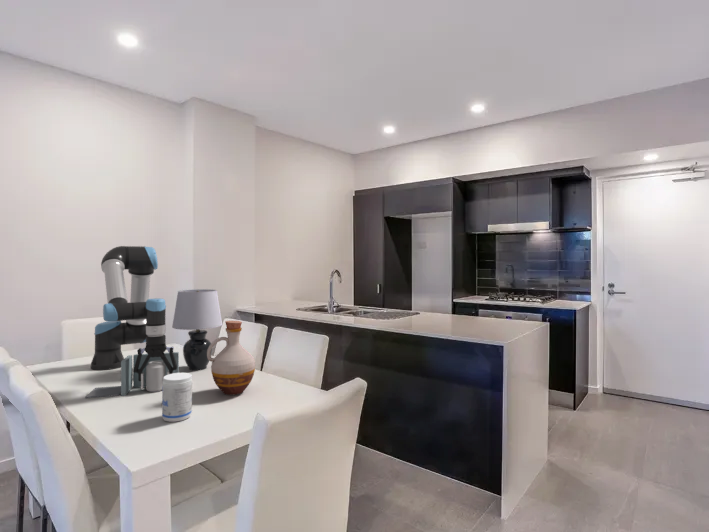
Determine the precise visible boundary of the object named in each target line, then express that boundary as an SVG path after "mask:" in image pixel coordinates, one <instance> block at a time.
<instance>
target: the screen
mask: <svg viewBox="0 0 709 532" xmlns="http://www.w3.org/2000/svg"><path fill="white" fill-rule="evenodd" d="M173 353H174V356H175V360H176V363H177V369H176V370H173V373H180V369H179V366H180V362H179V361H180V355H179V351H173ZM164 354H165V356H166V358H167V359H168V361H169V363H170V364H171V366H172V367H173V365H172V361H171V358H170V354H169V352H164ZM137 356H138V353H135V354H133V355H131V354H130V355H126V357H124V360H122V361H121V367H120V386H121V394H120V397H122V396H123V397H125V396H127V394H128V393H129V392H130V390H131V389H132V388H141V381H139V380H138V373H136V372H135V373H134V372H133V371H134V367H135V363H136V360H137ZM147 356H148V354H147V353H143V354H142V357H141V360H140V364H139V368H138V369H140V368H141V366H142V364H143V363H144V361H145V359H146V357H147ZM151 361H163V360H162V359H161V357H150V359H149V361H148V362H147V364H146V366H147V365H148V363H149V362H151ZM164 364H165V363H164ZM146 366H145V368H144V369H143V371H142V372H144V387H146ZM168 371H169V370H168V368H167V366H166V375H167V372H168Z"/></svg>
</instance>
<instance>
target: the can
mask: <svg viewBox="0 0 709 532" xmlns="http://www.w3.org/2000/svg"><path fill="white" fill-rule="evenodd" d="M164 376H166V365H165V364H164V362H163V361H151V362H149V363H148V365H147V366H146V386H145V390H146V391H147V392H149V393H157V392H161V391H162V387H163V377H164Z"/></svg>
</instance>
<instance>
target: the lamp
mask: <svg viewBox="0 0 709 532" xmlns="http://www.w3.org/2000/svg"><path fill="white" fill-rule="evenodd" d="M221 313H222V312H221V307H220V302H219V294H218V290H217V289H208V288H206V289H198V288H197V289H195V288H194V289H182V290H177V296H176V302H175V307H174V315H173V318H172V319H173V321H172V329H174V330H180V331H181V330H182V331H184V330H186V331H188V332H187V333H188V334H187V335H188V336H189V339H188V340H186V342H185V343H184V344H183V346H182V356H183V358H184V361H185V364H186V366H187V368H188V370H190V371H194V372H195V371H203V370H205V369H208V365H209V364H210V363H209V362H210V361H209V360H208V358H207V350H208V348H209V346H210V344H211V343H212V342H211V341H210V340H209V339H208V338H206V337H207V334H208V331H207V330H208V329H209V330H210V329H215V328H220V327H222V326H223V322H222V321H223V320H222V314H221ZM212 354H213V348H212V349H211V354H210V355H211V356H212Z"/></svg>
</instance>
